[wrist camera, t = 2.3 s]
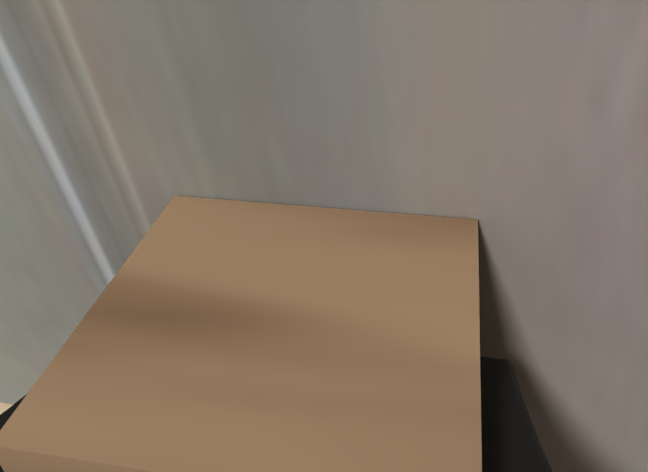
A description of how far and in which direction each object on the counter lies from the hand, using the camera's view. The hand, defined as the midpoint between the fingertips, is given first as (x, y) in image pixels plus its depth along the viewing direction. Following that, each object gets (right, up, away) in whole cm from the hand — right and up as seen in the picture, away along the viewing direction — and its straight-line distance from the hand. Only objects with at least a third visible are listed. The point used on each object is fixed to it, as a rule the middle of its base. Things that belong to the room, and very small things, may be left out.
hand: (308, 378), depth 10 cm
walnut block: (0, +1, +1) cm, 1 cm away
